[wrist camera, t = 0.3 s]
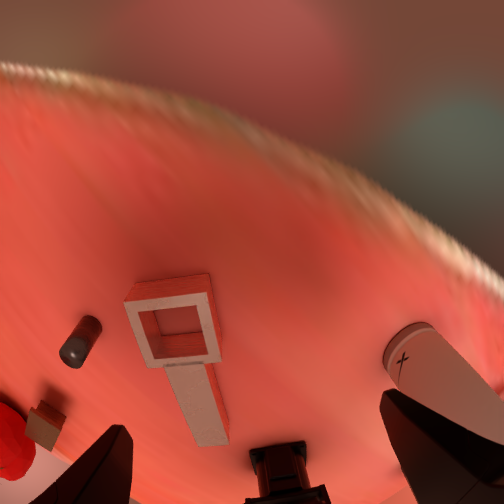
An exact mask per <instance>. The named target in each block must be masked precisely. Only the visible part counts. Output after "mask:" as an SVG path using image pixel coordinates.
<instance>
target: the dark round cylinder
mask: <svg viewBox="0 0 504 504" xmlns="http://www.w3.org/2000/svg"><path fill="white" fill-rule="evenodd" d="M101 332H102V326H101V324H100V322H99V321H98V320H97V319H96V318H94V317H92V316H84V317H83V318H82V319H81V321H80V322H79V324H78V325H77V326H76V328H75V329H74V330H73V332H72V333H71V335H70V336H69V337H68V339H67V340H66V342H65V343H64V344H63V346H62V347H61V349H60V351H59V355H60V358H61V359H62V361H63V362H64V363H65V364H66V365H68V366H69V367H71V368H75V369H78V368H80V367H82V365H83V363H84V361H85V360H86V358H87V356H88V354H89V352H90V351H91V349H92V347H93V346H94V344H95V342H96V340H97V339H98V337H99V335H100V334H101Z"/></svg>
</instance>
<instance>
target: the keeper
mask: <svg viewBox="0 0 504 504" xmlns="http://www.w3.org/2000/svg"><path fill="white" fill-rule="evenodd" d="M65 419H66V416H65V415H63V414H62V413H60V412H58V411H57V410H55V409H54V408H52V407H51V406H49V405H48V404H46V403H45V402H43V401H42V400H41V401H40V403H39V405H38V407H37V409H36V410H35V409H34V408H33V407H31V409H30V411H29V415H28V420H27V424H26V429H25V434H24V435H26V436H27V437H29V438H30V439H32V440H33V441H35V442H36V443H38V444H39V445H41V446H42V447H44V448H45V449H47V450H49V451H50V452H51V451H52V449H53V447H54V445H55V442H56V440H57V438H58V436H59V434H60V432H61V430H62V426H63V424H64V422H65Z"/></svg>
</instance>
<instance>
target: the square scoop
mask: <svg viewBox="0 0 504 504" xmlns="http://www.w3.org/2000/svg"><path fill="white" fill-rule="evenodd" d="M123 303H124V306H125V309H126V312H127V315H128V318H129V321H130V324H131V327H132V330H133V332H134V335H135V338H136V340H137V343H138V346H139V348H140V351H141V353H142V356H143V358H144V361H145V363H146V366H147V368H160V367H164V369H165V371H166V374H167V377H168V379H169V382H170V384H171V387H172V389H173V391H174V394H175V396H176V399H177V401H178V403H179V406H180V408H181V410H182V413H183V415H184V417H185V419H186V422H187V424H188V426H189V428H190V430H191V432H192V434H193V437H194V439H195V441H196V443H197V445H198V447H205V446H220V445H230V440H229V421H228V418H227V415H226V411H225V408H224V405H223V401H222V398H221V394H220V391H219V387H218V384H217V380H216V377H215V373H214V369H213V366H212V363H216V362H222V336H221V331H220V327H219V322H218V317H217V312H216V307H215V303H214V298H213V293H212V288H211V283H210V277H209V273H207V274H200V275H192V276H185V277H178V278H171V279H163V280H156V281H148V282H141V283H135V284H134V286H133V287H132V289H131V290H130V292H129V294H128V295H127V297H126V298H125V300H124V302H123ZM193 305H196V306H197V311H198V315H199V319H200V323H201V327H202V331H203V332H197V333H188V334H179V335H169V336H161V334H160V331H159V328H158V325H157V322H156V318H155V315H154V312H153V310H159V309H168V308H176V307H185V306H193Z"/></svg>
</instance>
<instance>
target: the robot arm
mask: <svg viewBox="0 0 504 504" xmlns="http://www.w3.org/2000/svg"><path fill="white" fill-rule="evenodd" d="M380 413H381V416H382V419H383V422H384V425H385V428H386V431H387V434H388V437H389V440H390V442H391V445H392V447H393V450H394V452H395V454H396V456H397V458H398V460H399V462H400V464H401V466H402V468H403V471H404V473H405V475H406V477H407V479H408V481H409V483H410V486H411V488H412V490H413V492H414V494H415V497H416V499H417V501H418V503H419V504H504V445H502V444H499V443H497V442H494V441H492V440H489V439H487V438H484V437H482V436H480V435H478V434H476V433H474V432H472V431H470V430H467V428H465V427H463V426H461V425H459V424H457V423H455V422H453V421H452V420H450V419H448V418H446V417H444V416H443V415H441V414H439V413H437V412H435V411H434V410H432V409H430V408H428V407H426V406H425V405H423V404H421V403H419V402H418V401H416V400H414V399H412V398H411V397H409V396H407V395H405V394H404V393H402V392H400V391H399V390H397V389H394V388H392V389H389V390H386V391H384V392H383V394H382V398H381V402H380ZM249 454H250V458H251V461H252V465H253V468H254V472H255V475H257V478H258V486H259V494H260V497H259V498H245V503H244V504H331V501H330V498H329V496H328V493H327V490H326V487H325V485H324V484H322V485H319V486H317V487H313V488H311V486H310V482H309V478H308V474H307V470H306V442H297V443H292V444H287V445H281V446H275V447H268V448H261V449H254V450H250V451H249ZM132 465H133V440H132V437H131V436H130V434H129V433H128V431H127V429H126V428H125V426H123V425H116V424H114V425H112V426H111V427H110V428H109V429H108V430H107V431H106V432H105V433H104V434H103V435H102V436H101V437H100V438H99V439H98V440H97V441H96V442H95V443H94V444H93V445H92V446H91V447H90V448H88V449H87V450H86V451H85V452H84V453H83V454H82V455H81V456H80V457H79V458H78V459H77V460H76V461H75V462H74V463H73V464H72V465H71V466H70V467H69V468H68V469H67V470H66V471H65V472H64V473H63V474H62V475H61V476H60V477H59V478H58V479H57V480H56V482H54V483H53V484H52V485H50V486H49V487H48V488H47V489H46V490H45V491H44V492H43V493H42V494H40V495H39V496H38V497H37V498H35V499H34V500H33V501H32V502H30V503H29V504H129V498H130V490H131V483H132Z"/></svg>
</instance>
